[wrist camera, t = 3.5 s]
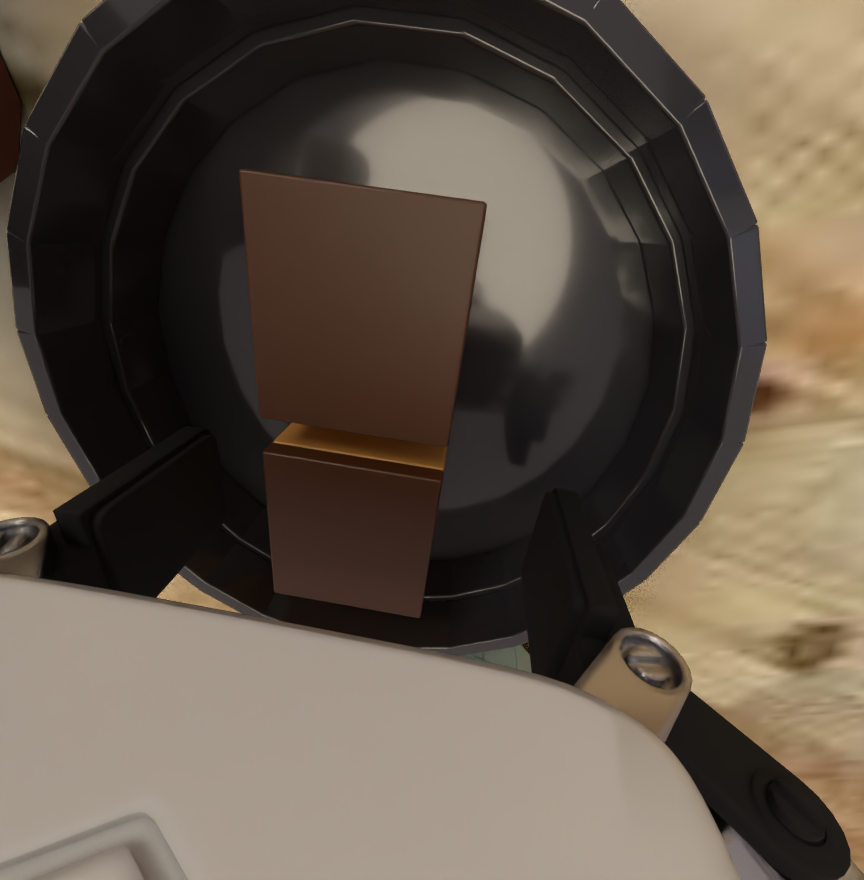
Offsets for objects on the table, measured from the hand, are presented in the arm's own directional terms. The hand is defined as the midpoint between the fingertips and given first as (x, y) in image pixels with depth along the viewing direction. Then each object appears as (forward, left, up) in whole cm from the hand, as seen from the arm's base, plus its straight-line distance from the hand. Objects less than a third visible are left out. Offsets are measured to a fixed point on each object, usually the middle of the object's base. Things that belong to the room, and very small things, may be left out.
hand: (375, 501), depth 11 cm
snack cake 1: (0, +5, -3) cm, 6 cm away
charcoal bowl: (0, +3, -3) cm, 4 cm away
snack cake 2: (0, 0, -3) cm, 3 cm away
